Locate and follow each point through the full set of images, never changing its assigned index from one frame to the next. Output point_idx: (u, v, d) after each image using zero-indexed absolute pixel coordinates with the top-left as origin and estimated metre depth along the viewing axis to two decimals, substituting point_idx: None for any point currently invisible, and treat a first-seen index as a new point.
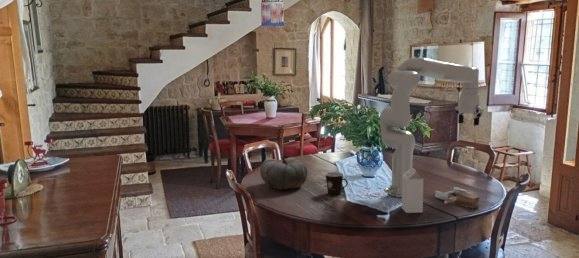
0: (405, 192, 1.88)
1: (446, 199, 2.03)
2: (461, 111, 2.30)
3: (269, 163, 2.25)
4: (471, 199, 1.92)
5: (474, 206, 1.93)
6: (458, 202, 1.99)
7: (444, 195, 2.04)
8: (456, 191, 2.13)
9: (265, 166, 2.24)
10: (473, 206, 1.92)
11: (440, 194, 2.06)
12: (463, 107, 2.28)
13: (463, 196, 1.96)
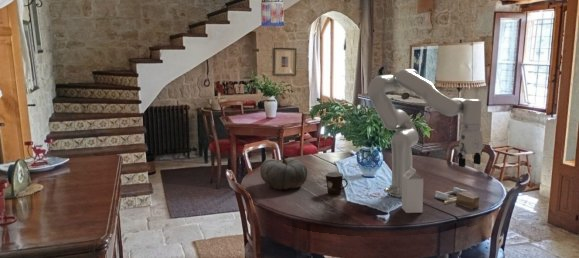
0: (405, 192, 1.88)
1: (446, 199, 2.03)
2: (471, 152, 1.90)
3: (269, 163, 2.25)
4: (471, 199, 1.92)
5: (474, 206, 1.93)
6: (458, 202, 1.99)
7: (444, 195, 2.04)
8: (456, 191, 2.13)
9: (265, 166, 2.24)
10: (473, 206, 1.92)
11: (440, 194, 2.06)
12: (473, 147, 1.90)
13: (463, 196, 1.96)
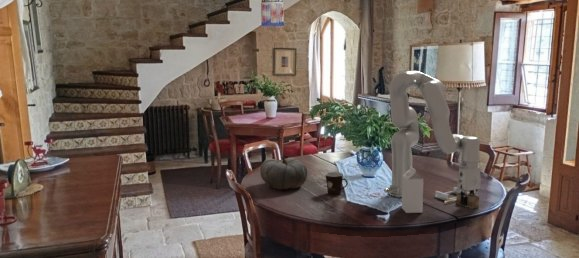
0: (405, 192, 1.88)
1: (446, 199, 2.03)
2: (469, 189, 1.92)
3: (269, 163, 2.25)
4: (471, 199, 1.92)
5: (474, 206, 1.93)
6: (458, 202, 1.99)
7: (444, 195, 2.04)
8: (456, 191, 2.13)
9: (265, 166, 2.24)
10: (473, 206, 1.92)
11: (440, 194, 2.06)
12: (471, 184, 1.92)
13: None
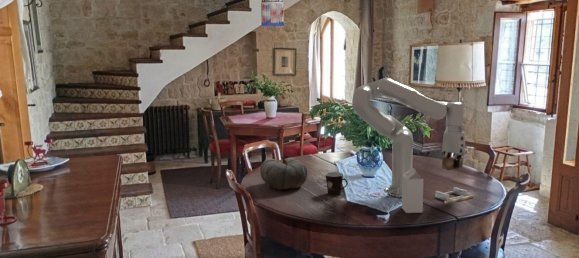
0: (405, 192, 1.88)
1: (446, 199, 2.03)
2: None
3: (269, 163, 2.25)
4: (461, 159, 2.06)
5: None
6: (450, 168, 2.03)
7: (444, 195, 2.04)
8: (456, 191, 2.13)
9: (265, 166, 2.24)
10: None
11: (440, 194, 2.06)
12: None
13: None
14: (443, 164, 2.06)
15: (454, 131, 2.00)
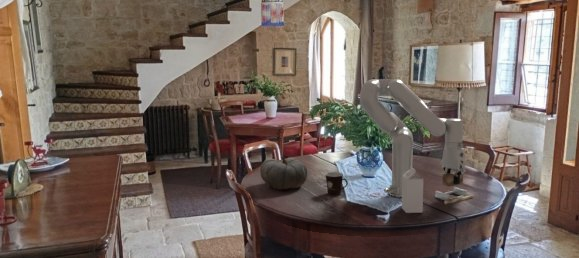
0: (405, 192, 1.88)
1: (446, 199, 2.03)
2: None
3: (269, 163, 2.25)
4: (461, 175, 2.07)
5: None
6: (450, 184, 2.05)
7: (444, 195, 2.04)
8: (456, 191, 2.13)
9: (265, 166, 2.24)
10: None
11: (440, 194, 2.06)
12: None
13: None
14: (443, 180, 2.07)
15: (453, 148, 2.02)
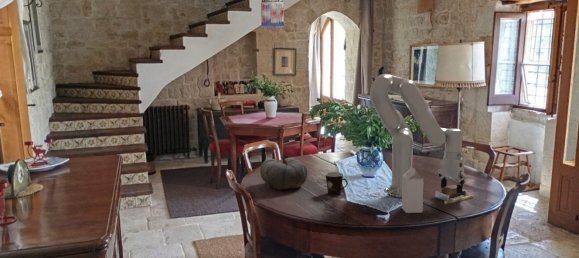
0: (405, 192, 1.88)
1: (446, 199, 2.03)
2: None
3: (269, 163, 2.25)
4: None
5: None
6: (449, 197, 2.06)
7: (444, 195, 2.04)
8: None
9: (265, 166, 2.24)
10: None
11: (440, 194, 2.06)
12: None
13: (454, 189, 2.06)
14: None
15: (453, 158, 2.02)
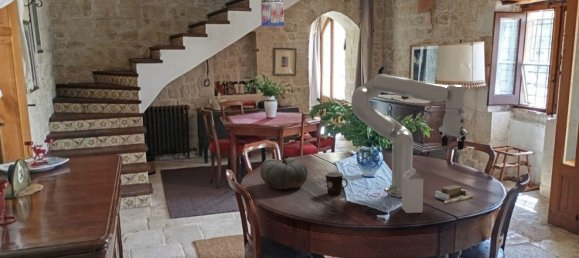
0: (405, 192, 1.88)
1: (446, 199, 2.03)
2: None
3: (269, 163, 2.25)
4: (460, 188, 2.09)
5: None
6: (450, 197, 2.06)
7: (444, 195, 2.04)
8: None
9: (265, 166, 2.24)
10: None
11: (440, 194, 2.06)
12: None
13: (454, 189, 2.06)
14: None
15: (454, 114, 2.00)
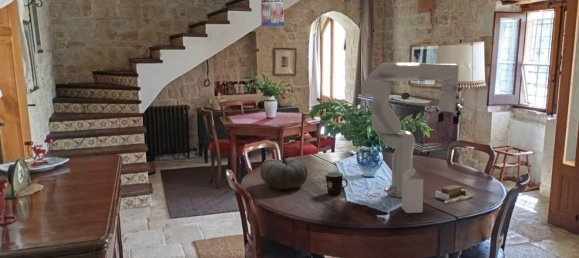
0: (405, 192, 1.88)
1: (446, 199, 2.03)
2: None
3: (269, 163, 2.25)
4: (460, 188, 2.09)
5: None
6: (450, 197, 2.06)
7: (444, 195, 2.04)
8: None
9: (265, 166, 2.24)
10: None
11: (440, 194, 2.06)
12: None
13: (454, 189, 2.06)
14: None
15: (450, 90, 2.14)
